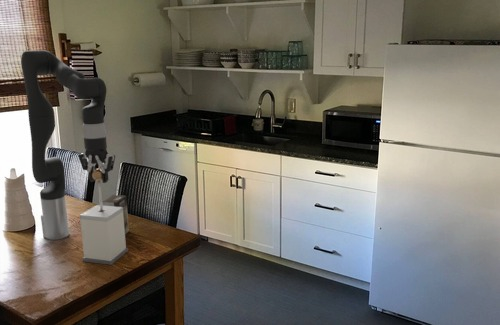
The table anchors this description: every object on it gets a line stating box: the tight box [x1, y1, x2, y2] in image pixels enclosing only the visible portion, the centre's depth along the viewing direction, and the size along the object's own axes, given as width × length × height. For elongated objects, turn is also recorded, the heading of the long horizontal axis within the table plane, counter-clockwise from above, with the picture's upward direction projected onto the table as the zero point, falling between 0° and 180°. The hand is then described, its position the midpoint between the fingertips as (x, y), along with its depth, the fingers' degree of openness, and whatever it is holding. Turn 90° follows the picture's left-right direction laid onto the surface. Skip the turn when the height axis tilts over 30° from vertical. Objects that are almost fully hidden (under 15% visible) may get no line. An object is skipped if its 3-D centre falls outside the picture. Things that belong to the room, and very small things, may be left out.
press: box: [79, 204, 129, 266], centre depth 177 cm, size 12×15×18 cm
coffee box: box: [102, 194, 130, 235], centre depth 195 cm, size 9×6×16 cm
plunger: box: [92, 168, 103, 212], centre depth 171 cm, size 4×4×20 cm
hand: (99, 181), depth 170 cm, fingers closed on plunger, 4 cm apart
